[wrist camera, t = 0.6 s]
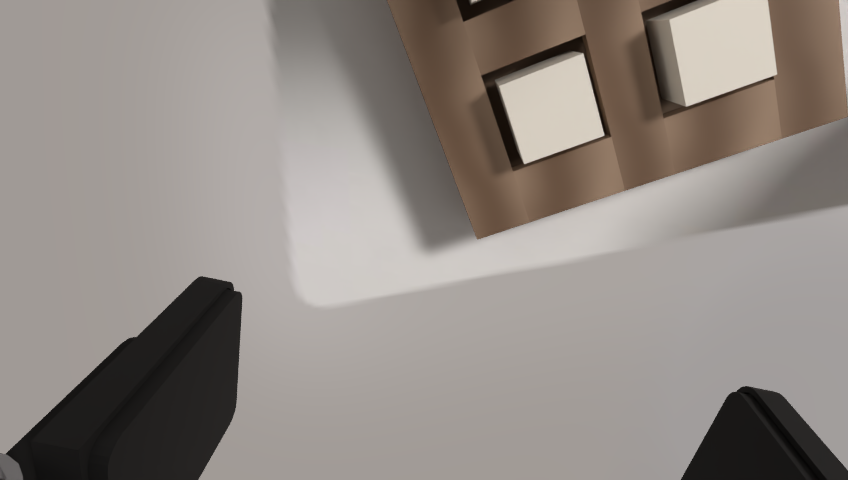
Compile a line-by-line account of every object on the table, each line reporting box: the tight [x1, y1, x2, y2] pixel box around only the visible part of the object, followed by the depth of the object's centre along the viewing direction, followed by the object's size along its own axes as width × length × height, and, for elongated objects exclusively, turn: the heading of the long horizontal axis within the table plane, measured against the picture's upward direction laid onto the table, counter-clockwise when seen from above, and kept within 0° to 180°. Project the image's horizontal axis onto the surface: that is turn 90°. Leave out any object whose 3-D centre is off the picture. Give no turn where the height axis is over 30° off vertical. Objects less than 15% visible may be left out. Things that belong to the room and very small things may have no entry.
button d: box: [646, 0, 777, 107], centre depth 28 cm, size 5×5×4 cm
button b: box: [495, 51, 604, 164], centre depth 29 cm, size 5×5×4 cm
